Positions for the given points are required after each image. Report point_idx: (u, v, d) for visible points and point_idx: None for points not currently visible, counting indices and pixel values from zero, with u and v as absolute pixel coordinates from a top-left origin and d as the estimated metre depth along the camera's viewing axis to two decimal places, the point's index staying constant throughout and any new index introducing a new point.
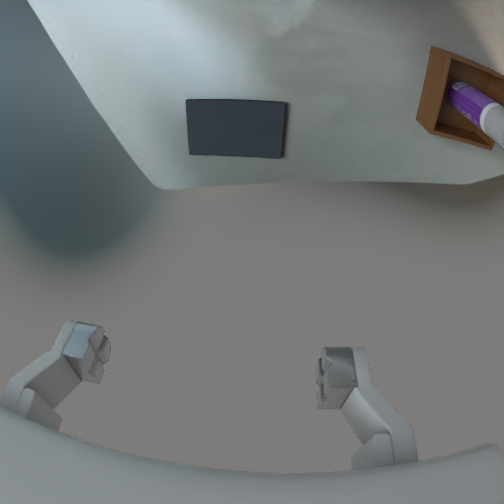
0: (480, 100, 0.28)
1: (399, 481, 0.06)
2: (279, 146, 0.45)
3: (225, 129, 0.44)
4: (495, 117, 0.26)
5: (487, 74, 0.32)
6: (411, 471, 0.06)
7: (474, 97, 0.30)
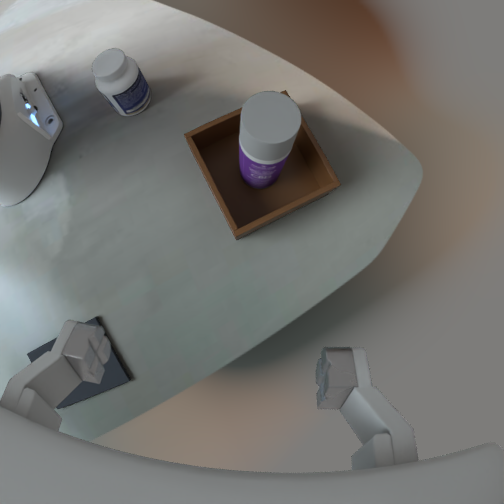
0: None
1: (399, 481, 0.06)
2: (119, 367, 0.35)
3: None
4: None
5: None
6: (411, 471, 0.06)
7: None
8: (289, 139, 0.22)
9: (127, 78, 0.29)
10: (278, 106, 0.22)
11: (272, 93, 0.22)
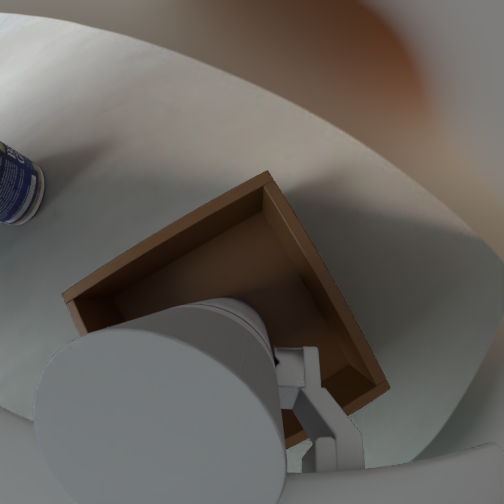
0: None
1: (399, 481, 0.06)
2: None
3: None
4: None
5: (254, 224, 0.20)
6: (411, 471, 0.06)
7: None
8: None
9: None
10: (168, 420, 0.04)
11: (134, 345, 0.04)
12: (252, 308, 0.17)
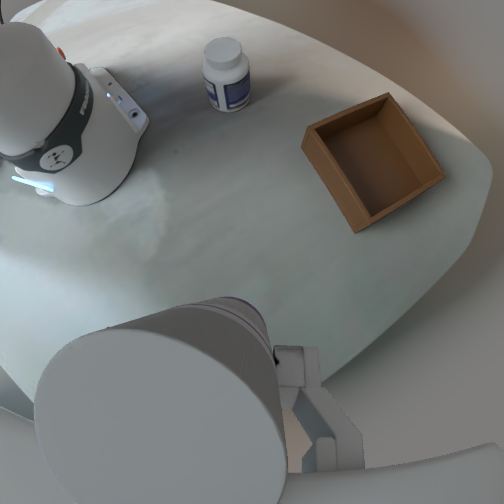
0: None
1: (399, 481, 0.06)
2: None
3: None
4: None
5: (373, 121, 0.37)
6: (411, 471, 0.06)
7: None
8: None
9: (241, 68, 0.30)
10: (169, 420, 0.04)
11: (134, 345, 0.04)
12: (252, 308, 0.17)
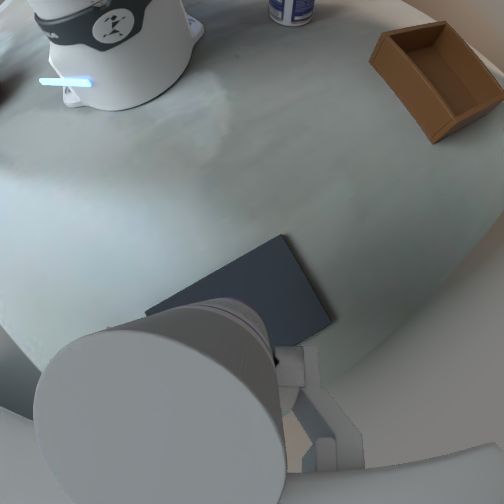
0: None
1: (399, 481, 0.06)
2: (317, 304, 0.27)
3: None
4: None
5: (430, 49, 0.30)
6: (411, 471, 0.06)
7: None
8: None
9: None
10: (168, 421, 0.04)
11: (134, 347, 0.04)
12: (252, 309, 0.16)
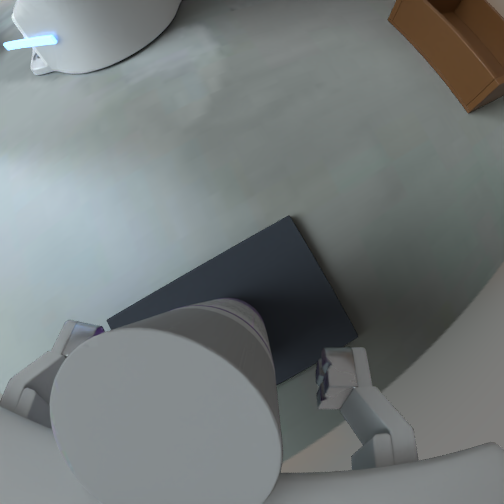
0: None
1: (399, 481, 0.06)
2: (339, 312, 0.19)
3: None
4: None
5: (453, 15, 0.23)
6: (411, 471, 0.06)
7: None
8: None
9: None
10: (176, 409, 0.05)
11: (146, 342, 0.05)
12: (252, 309, 0.17)
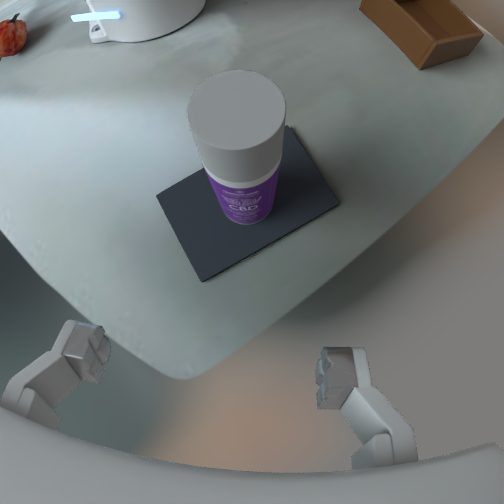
0: None
1: (399, 481, 0.06)
2: (324, 185, 0.28)
3: None
4: None
5: (414, 4, 0.32)
6: (411, 471, 0.06)
7: None
8: (267, 141, 0.13)
9: None
10: (247, 90, 0.13)
11: (237, 72, 0.13)
12: None
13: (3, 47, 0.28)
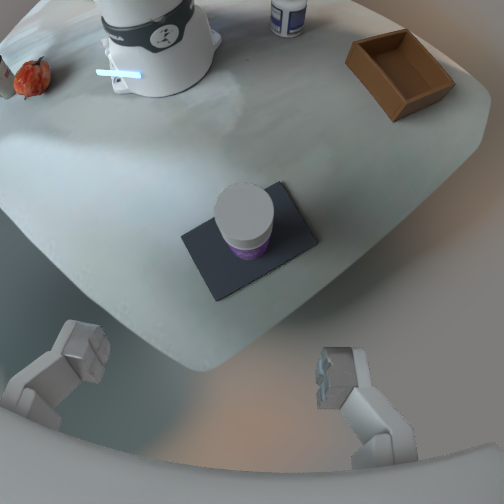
0: None
1: (399, 481, 0.06)
2: (306, 229, 0.38)
3: None
4: None
5: (396, 51, 0.42)
6: (411, 471, 0.06)
7: None
8: (262, 234, 0.23)
9: (302, 1, 0.35)
10: (250, 199, 0.24)
11: (244, 185, 0.24)
12: None
13: (31, 89, 0.38)
